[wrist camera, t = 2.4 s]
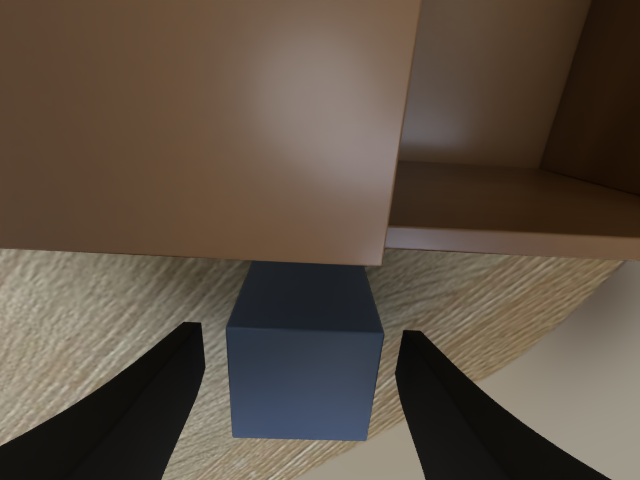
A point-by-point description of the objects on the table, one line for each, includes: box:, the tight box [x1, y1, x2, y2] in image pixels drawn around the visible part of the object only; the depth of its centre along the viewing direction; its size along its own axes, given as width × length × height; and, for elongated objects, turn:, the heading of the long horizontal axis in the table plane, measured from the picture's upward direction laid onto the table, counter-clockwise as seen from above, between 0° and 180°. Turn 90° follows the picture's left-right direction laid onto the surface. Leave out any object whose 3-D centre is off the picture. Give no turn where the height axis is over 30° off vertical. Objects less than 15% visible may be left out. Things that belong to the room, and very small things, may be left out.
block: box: [226, 260, 384, 441], centre depth 12 cm, size 4×4×4 cm
